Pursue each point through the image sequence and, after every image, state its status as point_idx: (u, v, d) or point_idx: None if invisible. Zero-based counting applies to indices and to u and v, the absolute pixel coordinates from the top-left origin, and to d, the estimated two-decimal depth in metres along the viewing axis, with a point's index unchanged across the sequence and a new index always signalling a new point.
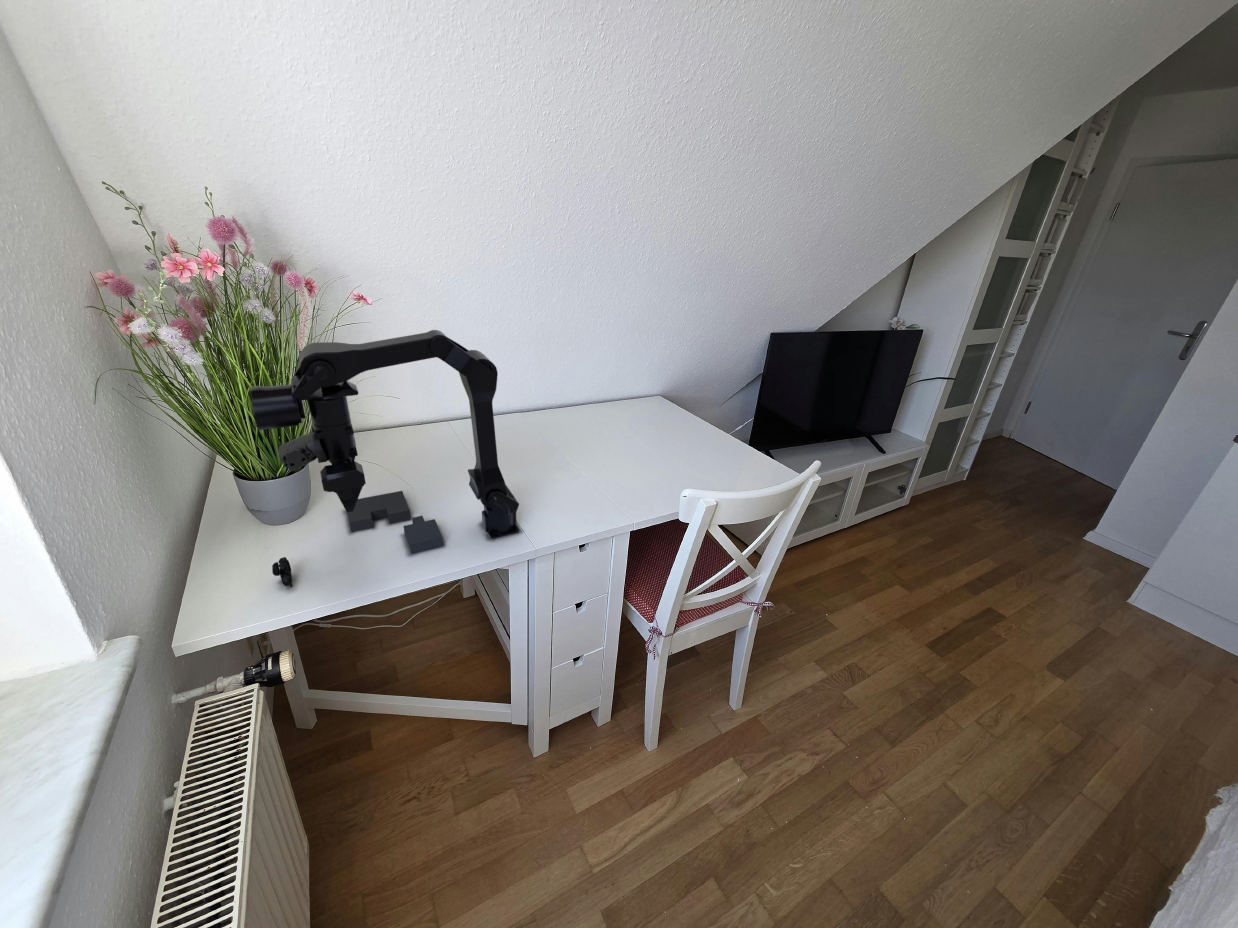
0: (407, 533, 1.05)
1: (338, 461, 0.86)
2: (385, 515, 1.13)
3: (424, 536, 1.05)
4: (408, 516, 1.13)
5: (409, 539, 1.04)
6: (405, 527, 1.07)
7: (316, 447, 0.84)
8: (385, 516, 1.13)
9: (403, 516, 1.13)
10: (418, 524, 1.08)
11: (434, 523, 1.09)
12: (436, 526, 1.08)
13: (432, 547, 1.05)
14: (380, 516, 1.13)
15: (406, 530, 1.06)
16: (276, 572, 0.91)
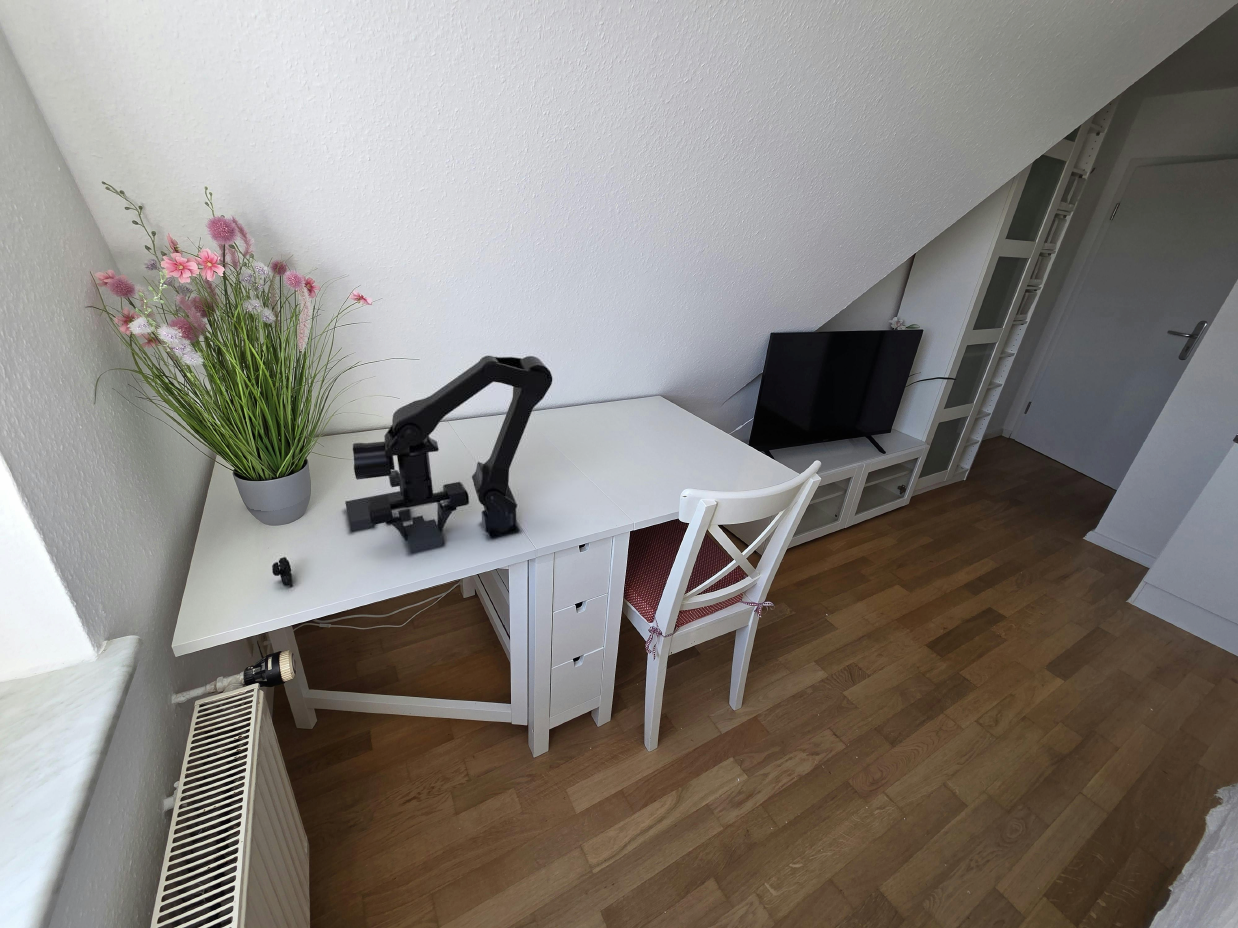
0: (407, 533, 1.05)
1: (399, 500, 1.01)
2: None
3: (424, 536, 1.05)
4: (408, 516, 1.13)
5: (409, 539, 1.04)
6: (405, 527, 1.07)
7: (399, 481, 1.02)
8: None
9: (403, 516, 1.13)
10: (418, 524, 1.08)
11: (434, 523, 1.09)
12: (436, 526, 1.08)
13: (432, 547, 1.05)
14: None
15: (406, 530, 1.06)
16: (276, 572, 0.91)
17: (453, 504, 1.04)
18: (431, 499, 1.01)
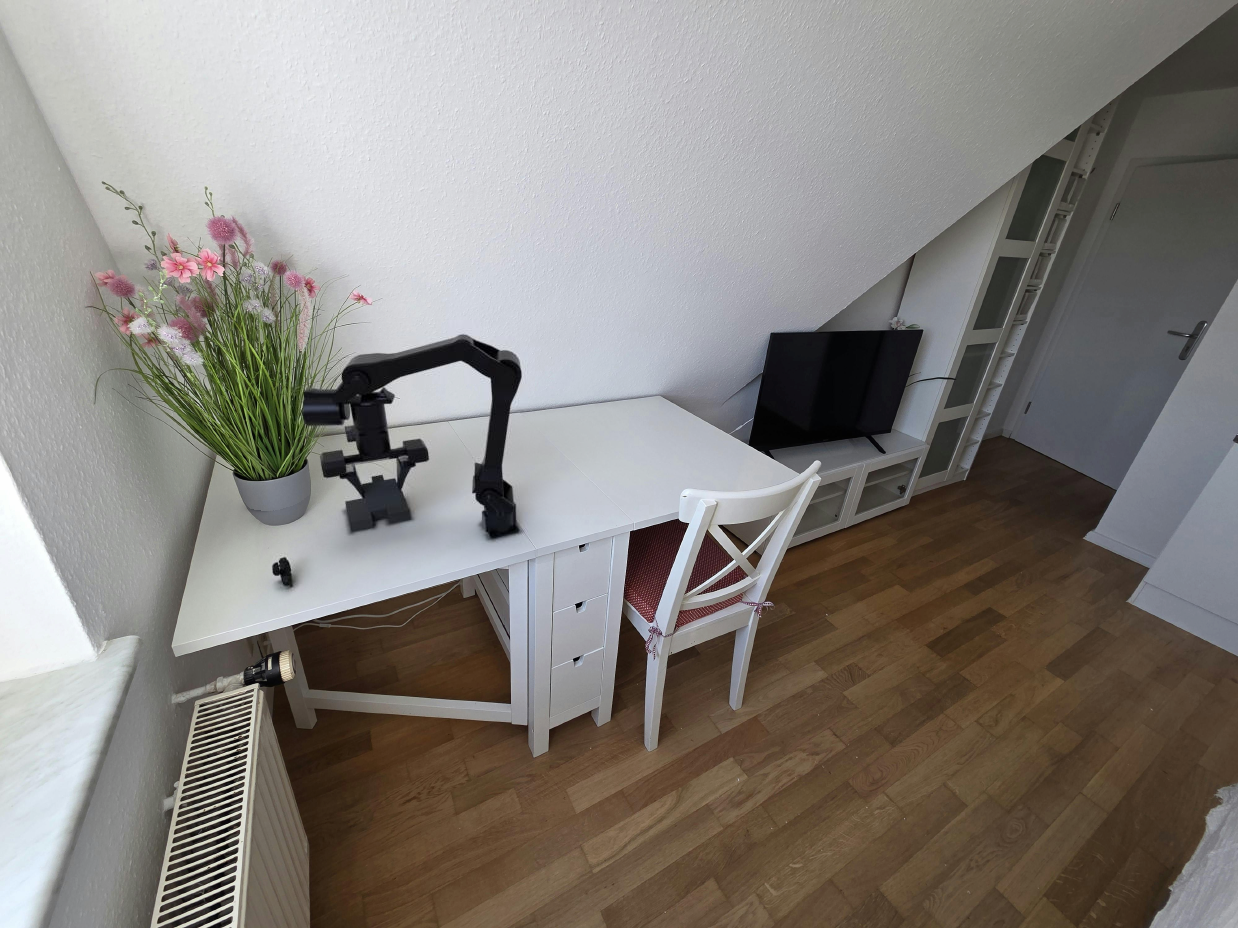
0: (364, 490, 1.02)
1: (354, 455, 0.98)
2: (385, 515, 1.13)
3: (382, 494, 1.01)
4: (408, 516, 1.13)
5: (366, 496, 1.00)
6: (363, 485, 1.04)
7: (355, 435, 0.99)
8: (385, 516, 1.13)
9: (403, 516, 1.13)
10: (377, 483, 1.05)
11: (394, 482, 1.06)
12: (396, 484, 1.05)
13: (390, 505, 1.02)
14: (380, 516, 1.13)
15: (364, 488, 1.03)
16: (276, 572, 0.91)
17: (411, 460, 1.00)
18: (388, 453, 0.98)
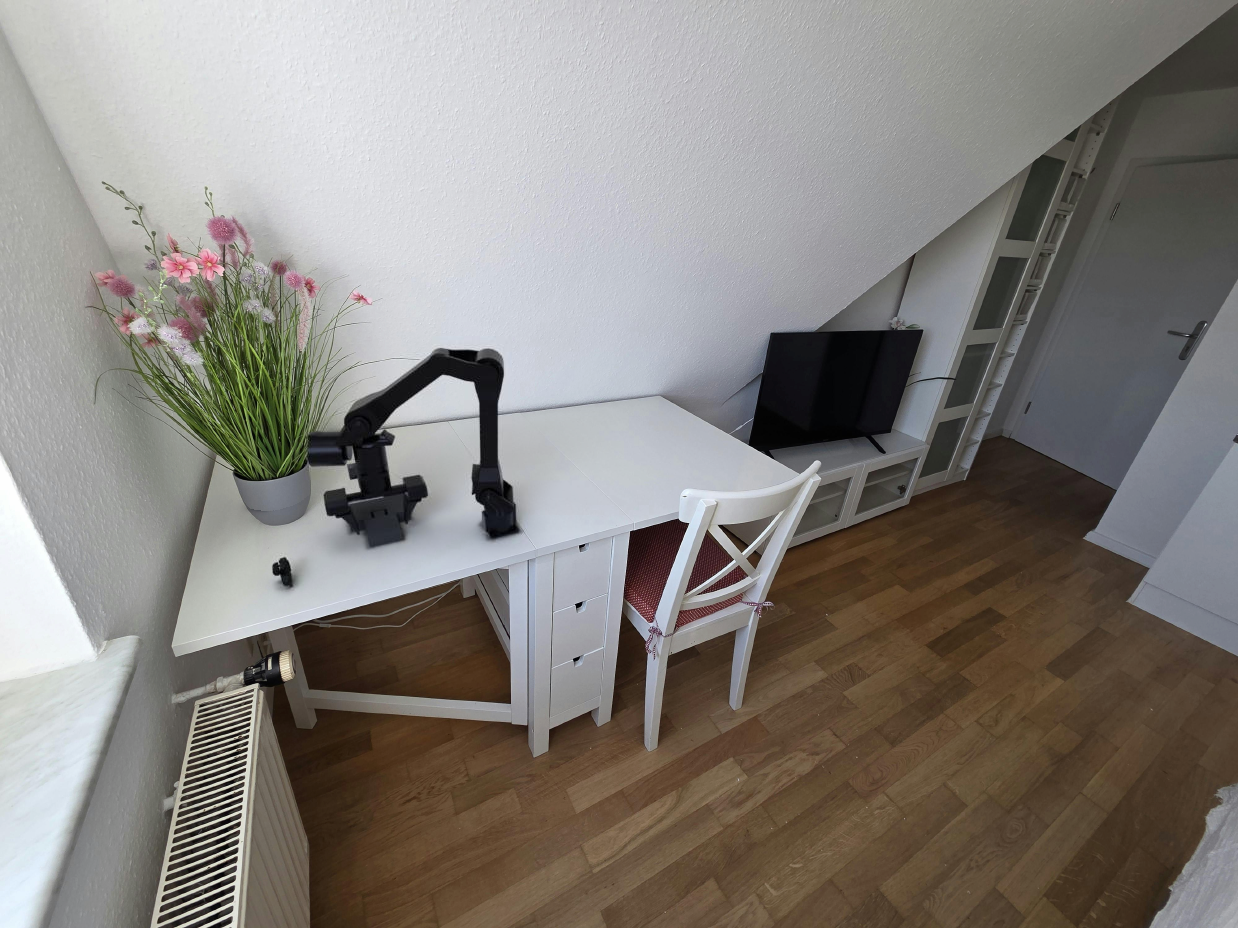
0: (367, 527, 1.06)
1: (356, 493, 1.02)
2: None
3: (384, 530, 1.06)
4: None
5: (368, 533, 1.05)
6: (365, 521, 1.08)
7: None
8: None
9: (403, 516, 1.13)
10: (379, 518, 1.09)
11: (395, 517, 1.10)
12: (396, 520, 1.09)
13: (391, 541, 1.06)
14: None
15: (366, 524, 1.07)
16: (276, 572, 0.91)
17: (411, 496, 1.04)
18: (388, 491, 1.02)
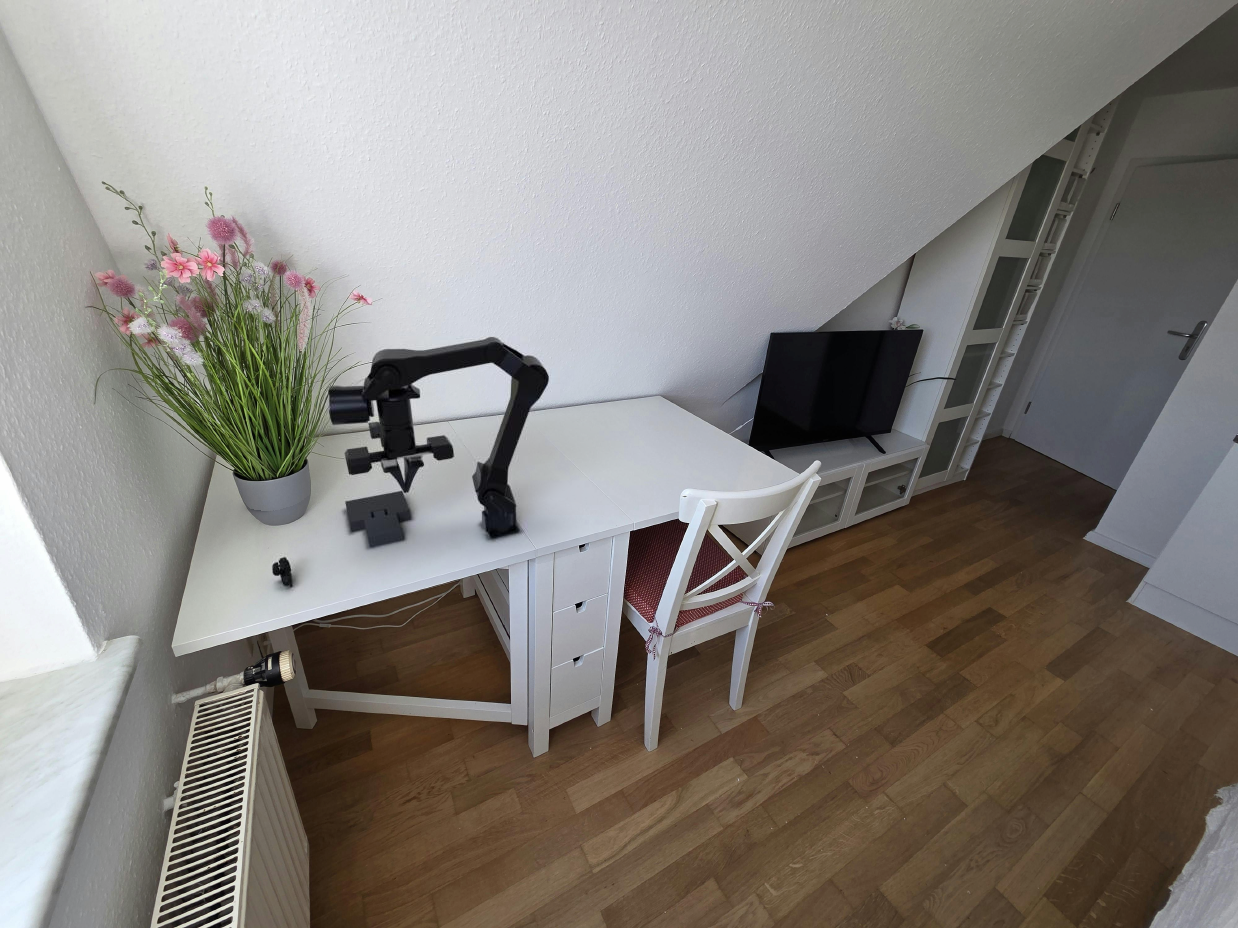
0: (367, 527, 1.06)
1: (379, 451, 0.96)
2: None
3: (384, 530, 1.06)
4: (408, 516, 1.13)
5: (368, 533, 1.05)
6: (365, 521, 1.08)
7: (380, 431, 0.97)
8: None
9: (403, 516, 1.13)
10: (379, 518, 1.09)
11: (395, 517, 1.10)
12: (396, 520, 1.09)
13: (391, 541, 1.06)
14: None
15: (366, 524, 1.07)
16: (276, 572, 0.91)
17: (437, 457, 0.99)
18: (413, 450, 0.96)
